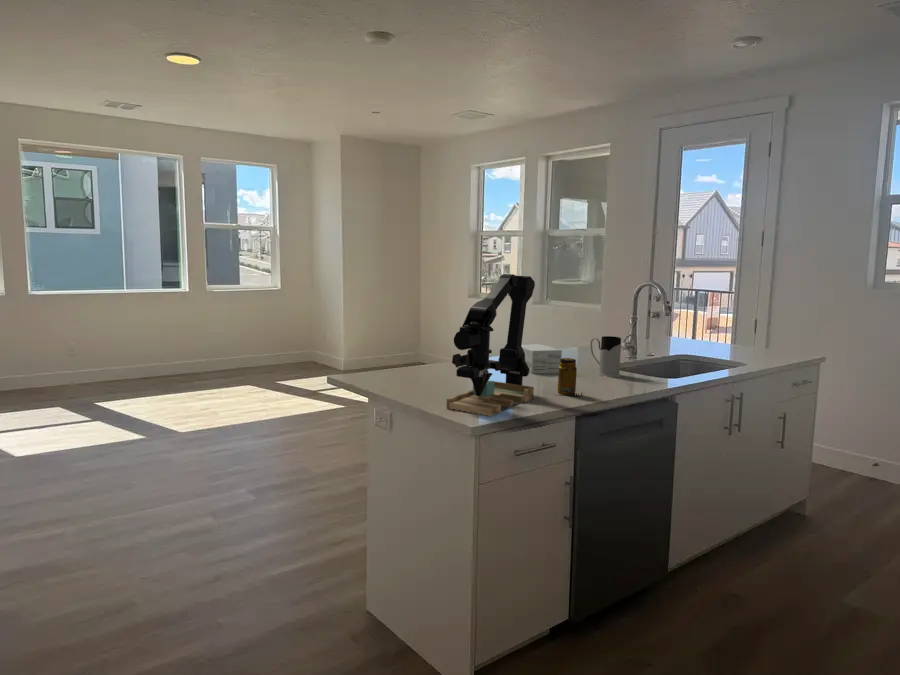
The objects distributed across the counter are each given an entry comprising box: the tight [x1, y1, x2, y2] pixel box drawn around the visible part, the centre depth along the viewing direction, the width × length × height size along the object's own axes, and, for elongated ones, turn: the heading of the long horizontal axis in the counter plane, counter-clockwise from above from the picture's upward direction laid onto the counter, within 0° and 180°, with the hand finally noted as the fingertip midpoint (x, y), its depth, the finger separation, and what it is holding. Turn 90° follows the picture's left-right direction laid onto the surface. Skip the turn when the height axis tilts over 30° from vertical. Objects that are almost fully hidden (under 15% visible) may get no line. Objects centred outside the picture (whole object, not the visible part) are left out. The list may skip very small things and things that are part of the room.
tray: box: [446, 380, 535, 417], centre depth 200 cm, size 28×16×4 cm, turn 149°
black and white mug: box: [590, 335, 622, 378], centre depth 255 cm, size 9×14×15 cm, turn 39°
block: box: [472, 380, 495, 397], centre depth 204 cm, size 5×5×4 cm
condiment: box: [554, 357, 581, 397], centre depth 217 cm, size 7×8×12 cm
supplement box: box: [521, 344, 563, 374], centre depth 261 cm, size 17×13×9 cm
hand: (478, 395), depth 200 cm, fingers closed
